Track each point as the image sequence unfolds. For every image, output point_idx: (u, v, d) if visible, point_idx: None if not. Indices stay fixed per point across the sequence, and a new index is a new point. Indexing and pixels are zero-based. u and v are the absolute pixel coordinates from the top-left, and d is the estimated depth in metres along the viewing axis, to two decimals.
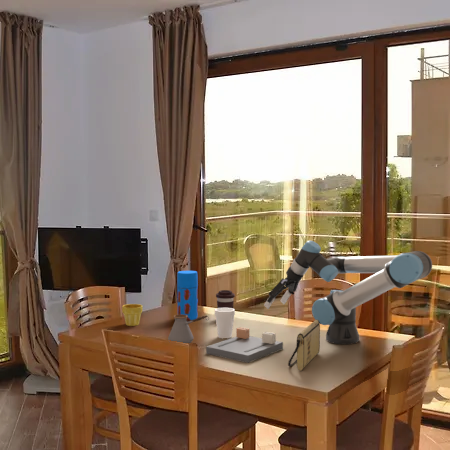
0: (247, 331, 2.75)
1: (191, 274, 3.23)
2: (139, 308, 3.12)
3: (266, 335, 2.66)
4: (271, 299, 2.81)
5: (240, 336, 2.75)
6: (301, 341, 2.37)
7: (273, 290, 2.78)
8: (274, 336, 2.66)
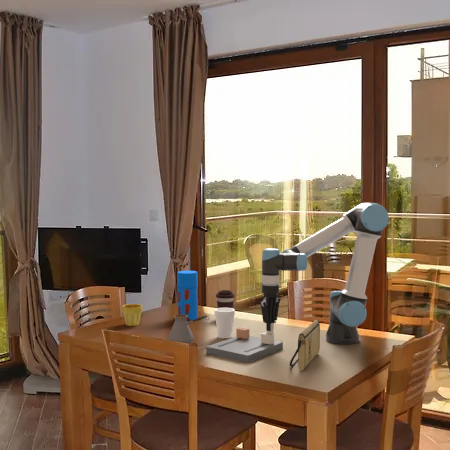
0: (247, 331, 2.75)
1: (191, 274, 3.23)
2: (139, 308, 3.12)
3: (265, 335, 2.66)
4: (269, 326, 2.66)
5: (240, 336, 2.75)
6: (302, 341, 2.37)
7: (263, 316, 2.65)
8: (273, 336, 2.66)
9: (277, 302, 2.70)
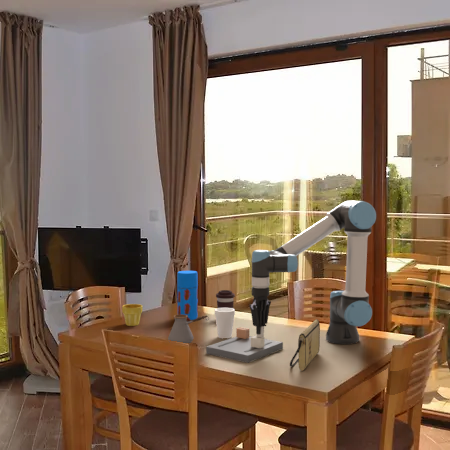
0: (247, 331, 2.75)
1: (191, 274, 3.23)
2: (139, 308, 3.12)
3: (255, 339, 2.60)
4: (259, 329, 2.60)
5: (240, 336, 2.75)
6: (303, 341, 2.37)
7: (253, 320, 2.59)
8: (263, 340, 2.60)
9: (267, 305, 2.64)
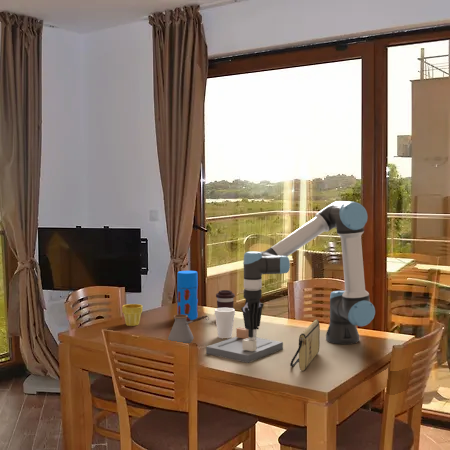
0: (247, 331, 2.75)
1: (191, 274, 3.23)
2: (139, 308, 3.12)
3: (246, 342, 2.55)
4: (251, 332, 2.56)
5: (240, 336, 2.75)
6: (303, 341, 2.37)
7: (245, 322, 2.54)
8: (255, 343, 2.55)
9: (260, 307, 2.60)
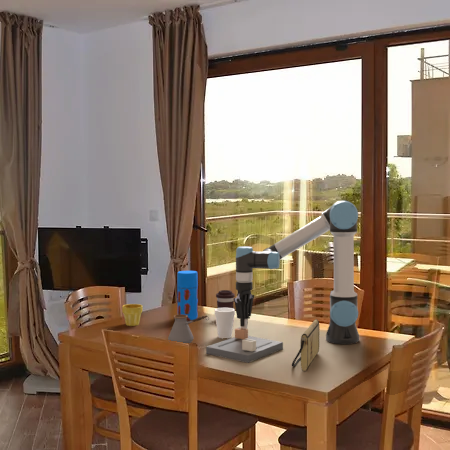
0: (245, 331, 2.74)
1: (191, 274, 3.23)
2: (139, 308, 3.12)
3: (246, 342, 2.55)
4: (243, 321, 2.75)
5: (238, 337, 2.74)
6: (305, 341, 2.37)
7: (237, 312, 2.73)
8: (254, 343, 2.55)
9: (251, 298, 2.79)
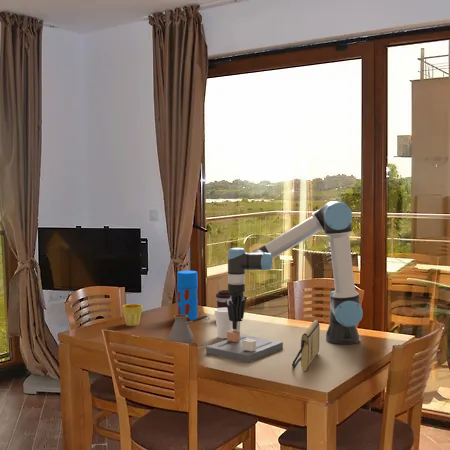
0: (238, 334, 2.69)
1: (191, 274, 3.23)
2: (139, 308, 3.12)
3: (246, 342, 2.55)
4: (235, 324, 2.70)
5: (230, 339, 2.70)
6: (305, 341, 2.37)
7: (229, 315, 2.69)
8: (254, 343, 2.55)
9: (243, 301, 2.74)
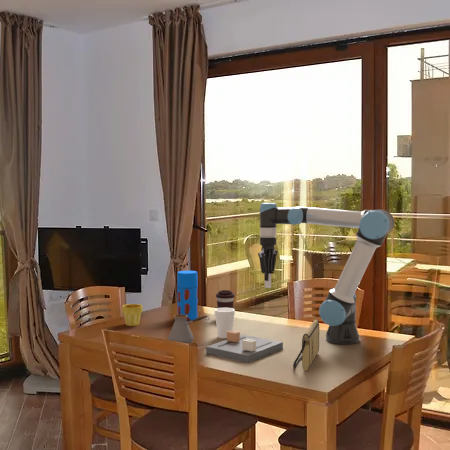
0: (237, 334, 2.69)
1: (191, 274, 3.23)
2: (139, 308, 3.12)
3: (246, 342, 2.55)
4: (267, 276, 2.81)
5: (230, 339, 2.69)
6: (306, 341, 2.37)
7: (261, 267, 2.80)
8: (254, 343, 2.55)
9: (274, 254, 2.85)
